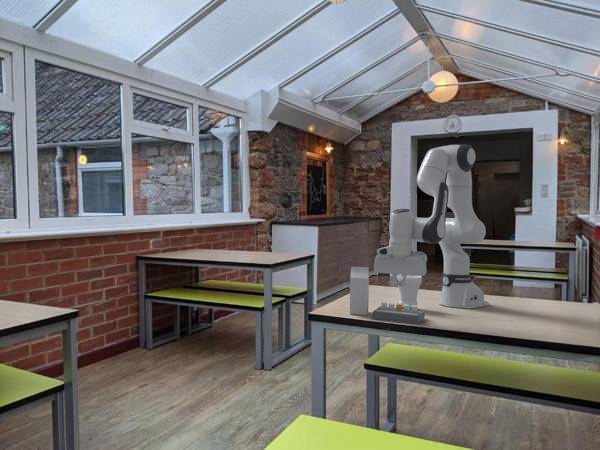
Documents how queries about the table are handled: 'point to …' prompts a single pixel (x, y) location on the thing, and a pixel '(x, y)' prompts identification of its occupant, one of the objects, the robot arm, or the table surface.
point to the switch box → (399, 314)
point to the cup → (409, 289)
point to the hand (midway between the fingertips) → (399, 285)
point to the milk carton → (359, 290)
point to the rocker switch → (399, 307)
